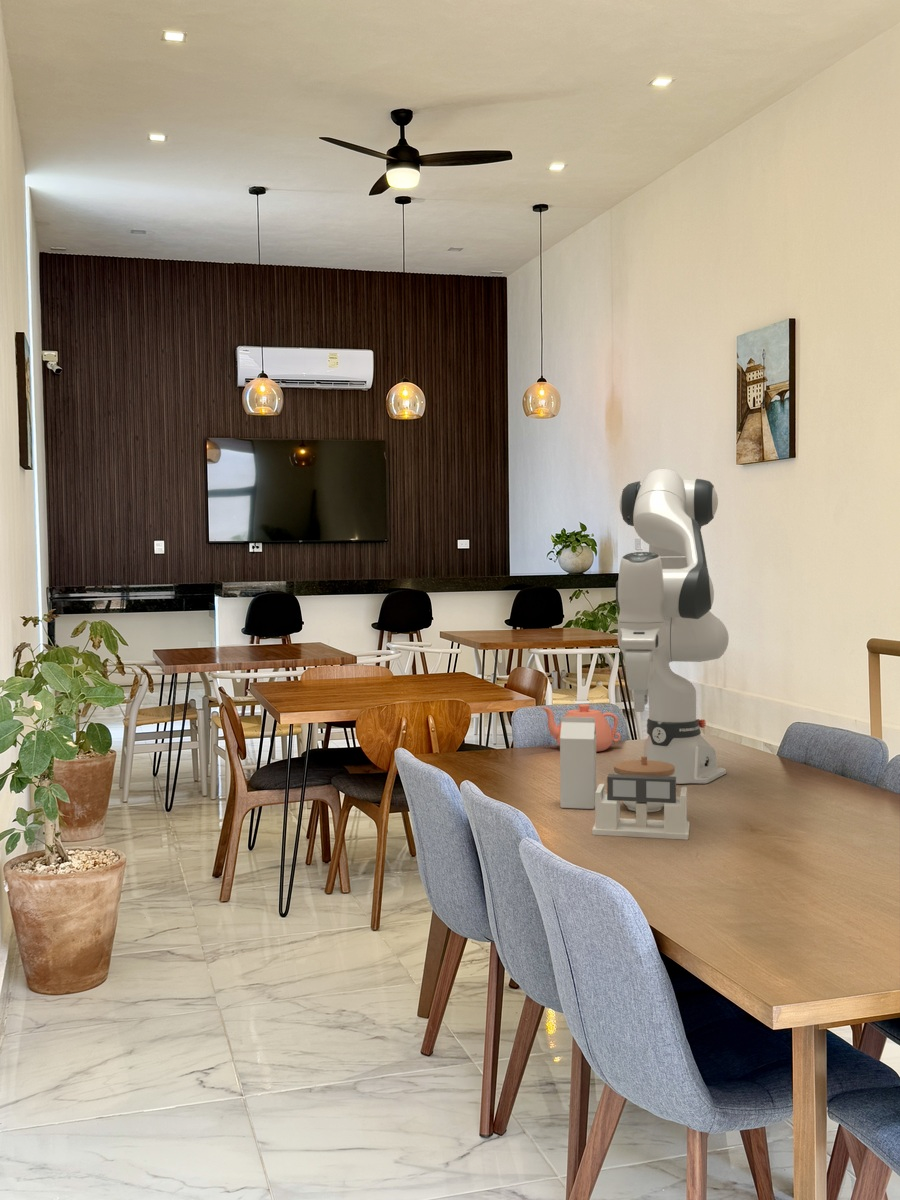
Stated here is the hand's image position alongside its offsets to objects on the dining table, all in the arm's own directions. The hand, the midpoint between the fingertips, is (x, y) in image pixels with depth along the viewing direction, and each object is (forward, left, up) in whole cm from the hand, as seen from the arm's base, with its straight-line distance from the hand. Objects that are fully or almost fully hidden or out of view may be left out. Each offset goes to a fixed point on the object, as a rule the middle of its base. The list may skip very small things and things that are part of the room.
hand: (641, 707), depth 210 cm
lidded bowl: (-16, -10, -24) cm, 31 cm away
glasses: (0, 0, -18) cm, 18 cm away
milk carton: (-9, -22, -24) cm, 34 cm away
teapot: (-63, -62, -24) cm, 92 cm away
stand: (0, 0, -24) cm, 24 cm away
